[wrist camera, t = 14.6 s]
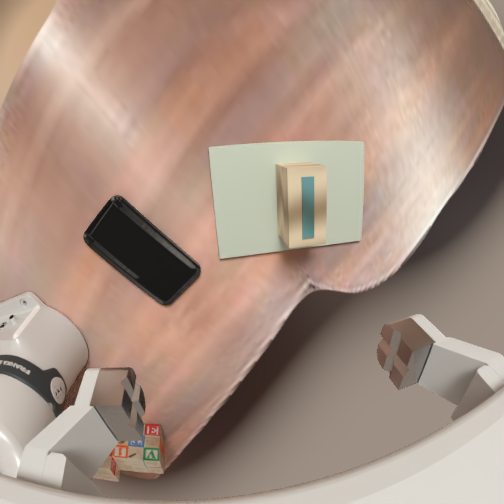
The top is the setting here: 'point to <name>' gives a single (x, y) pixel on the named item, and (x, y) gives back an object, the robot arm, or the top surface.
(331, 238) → the rubber mat
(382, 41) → the top surface
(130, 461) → the stack of blocks
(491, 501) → the robot arm
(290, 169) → the maple block
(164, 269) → the phone
